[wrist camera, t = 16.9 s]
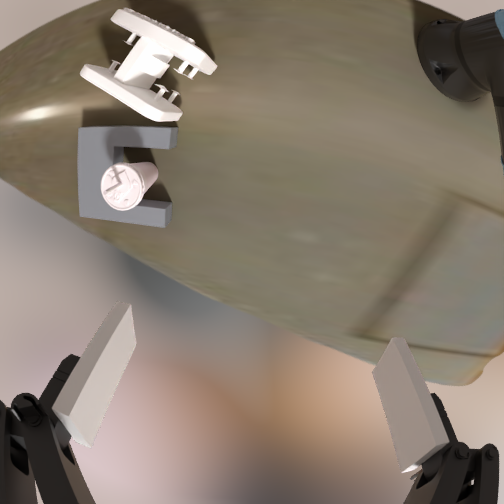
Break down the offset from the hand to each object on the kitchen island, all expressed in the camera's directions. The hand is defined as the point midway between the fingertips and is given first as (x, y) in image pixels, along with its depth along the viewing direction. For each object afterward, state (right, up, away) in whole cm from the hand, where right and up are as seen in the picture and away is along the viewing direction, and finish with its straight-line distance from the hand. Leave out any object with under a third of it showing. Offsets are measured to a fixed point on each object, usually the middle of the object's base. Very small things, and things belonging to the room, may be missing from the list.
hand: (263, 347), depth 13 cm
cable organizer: (-14, +32, +22) cm, 41 cm away
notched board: (-21, +18, +29) cm, 39 cm away
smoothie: (-17, +17, +29) cm, 38 cm away
